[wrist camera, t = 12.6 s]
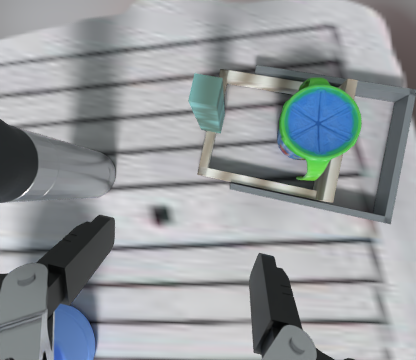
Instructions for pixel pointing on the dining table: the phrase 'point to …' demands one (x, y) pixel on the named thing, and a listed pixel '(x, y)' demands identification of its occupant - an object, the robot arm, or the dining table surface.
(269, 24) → the dining table surface
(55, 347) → the water jug
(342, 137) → the snack cup
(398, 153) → the rectangular frame
